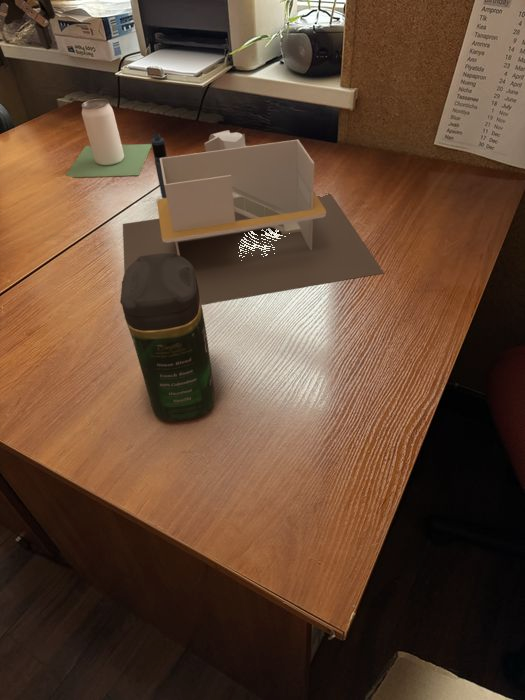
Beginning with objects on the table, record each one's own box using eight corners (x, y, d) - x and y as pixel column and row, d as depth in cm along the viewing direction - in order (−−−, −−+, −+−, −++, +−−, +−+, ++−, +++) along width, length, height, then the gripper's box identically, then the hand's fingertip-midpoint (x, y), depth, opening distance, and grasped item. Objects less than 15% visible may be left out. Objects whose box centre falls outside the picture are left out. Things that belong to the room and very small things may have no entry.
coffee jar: (219, 419, 60) (198, 297, 47) (152, 429, 59) (112, 308, 46) (212, 362, 66) (192, 241, 53) (152, 370, 66) (117, 250, 53)
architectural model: (170, 280, 80) (152, 193, 69) (164, 238, 89) (147, 155, 78) (326, 255, 83) (330, 167, 72) (304, 216, 92) (306, 133, 81)
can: (129, 160, 112) (115, 103, 103) (101, 169, 109) (85, 111, 101) (118, 151, 116) (104, 95, 107) (91, 159, 113) (74, 103, 105)
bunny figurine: (234, 123, 115) (264, 137, 104) (237, 146, 118) (266, 162, 107) (195, 132, 112) (222, 148, 101) (200, 156, 115) (226, 173, 104)
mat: (64, 178, 108) (64, 177, 107) (85, 146, 119) (85, 146, 119) (138, 175, 107) (138, 175, 107) (152, 144, 118) (152, 143, 118)
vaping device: (167, 191, 101) (156, 130, 93) (187, 198, 99) (177, 136, 90) (158, 196, 100) (146, 135, 91) (178, 203, 97) (167, 141, 89)
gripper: (12, -77, 78) (48, 33, 92) (-75, -49, 72) (-23, 64, 86) (40, -61, 75) (72, 50, 89) (-48, -31, 70) (1, 82, 84)
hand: (25, 57), depth 88 cm, fingers open, 8 cm apart
